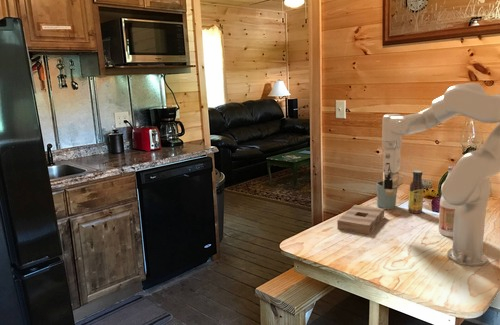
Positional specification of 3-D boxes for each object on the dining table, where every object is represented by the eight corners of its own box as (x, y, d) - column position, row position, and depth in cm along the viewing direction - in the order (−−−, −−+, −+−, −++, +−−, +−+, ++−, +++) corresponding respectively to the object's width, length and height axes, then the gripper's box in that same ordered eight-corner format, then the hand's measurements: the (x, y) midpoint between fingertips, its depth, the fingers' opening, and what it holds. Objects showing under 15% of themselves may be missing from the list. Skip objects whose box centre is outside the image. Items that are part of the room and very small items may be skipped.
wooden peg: (396, 197, 163) (396, 175, 161) (380, 195, 166) (381, 173, 164) (400, 193, 168) (400, 171, 166) (385, 191, 171) (385, 170, 169)
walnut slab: (368, 234, 168) (369, 225, 167) (337, 228, 176) (337, 220, 175) (384, 217, 185) (384, 208, 184) (354, 212, 193) (354, 204, 192)
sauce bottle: (413, 214, 186) (415, 173, 181) (405, 210, 192) (406, 170, 187) (425, 212, 187) (427, 172, 183) (416, 208, 193) (418, 169, 189)
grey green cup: (379, 201, 206) (379, 179, 203) (399, 204, 200) (400, 181, 197) (373, 207, 198) (373, 184, 195) (394, 211, 192) (394, 187, 189)
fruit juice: (433, 230, 167) (436, 166, 161) (451, 227, 170) (455, 163, 164) (450, 239, 159) (454, 171, 152) (469, 235, 161) (474, 168, 155)
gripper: (395, 149, 153) (394, 193, 157) (406, 141, 167) (405, 182, 171) (375, 148, 157) (375, 191, 162) (388, 140, 171) (387, 180, 175)
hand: (390, 186), depth 166 cm, fingers closed on wooden peg, 6 cm apart
